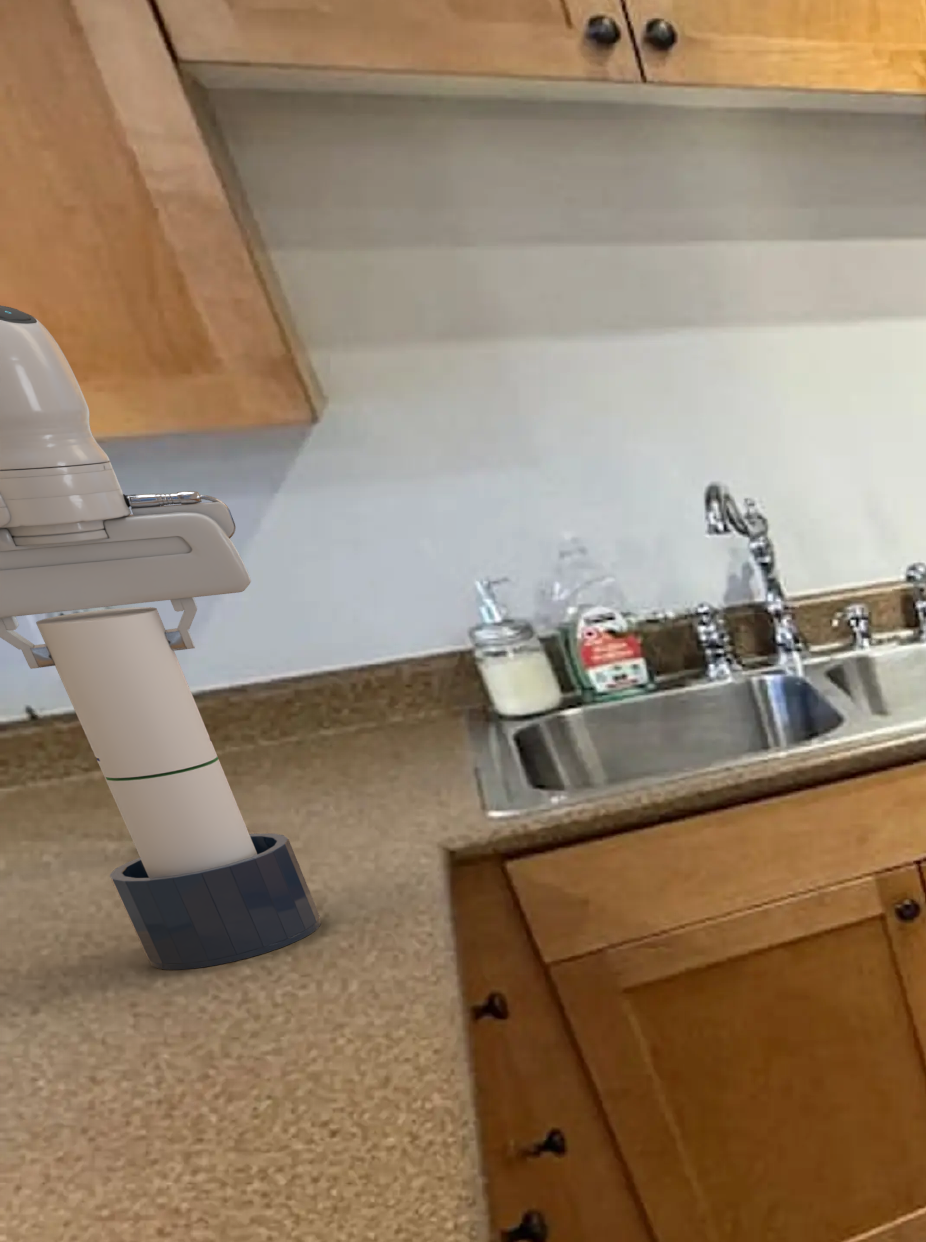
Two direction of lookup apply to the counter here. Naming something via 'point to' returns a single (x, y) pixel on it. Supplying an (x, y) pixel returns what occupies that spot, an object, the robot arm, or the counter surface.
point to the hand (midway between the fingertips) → (114, 657)
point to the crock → (219, 908)
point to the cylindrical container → (148, 738)
